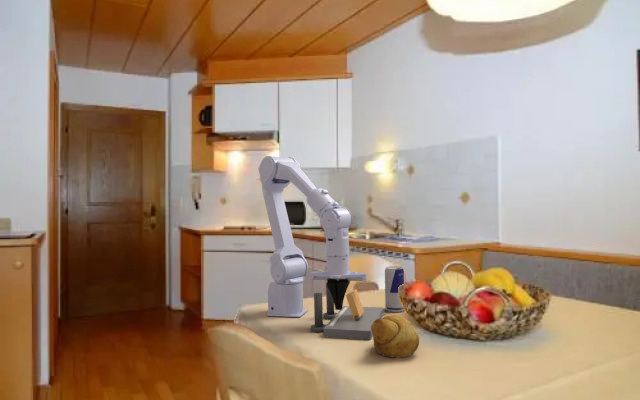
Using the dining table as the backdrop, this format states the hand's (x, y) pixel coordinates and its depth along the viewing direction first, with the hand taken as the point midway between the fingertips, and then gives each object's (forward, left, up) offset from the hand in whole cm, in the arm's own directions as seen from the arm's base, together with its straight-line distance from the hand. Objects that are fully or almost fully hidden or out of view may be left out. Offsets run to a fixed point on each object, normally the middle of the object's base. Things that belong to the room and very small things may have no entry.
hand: (338, 309), depth 121 cm
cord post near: (-4, -6, -4) cm, 8 cm away
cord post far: (-4, +6, -4) cm, 8 cm away
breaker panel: (+4, 0, -4) cm, 6 cm away
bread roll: (+16, -17, -4) cm, 23 cm away
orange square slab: (+5, 0, -2) cm, 6 cm away
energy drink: (+12, +17, -4) cm, 21 cm away
